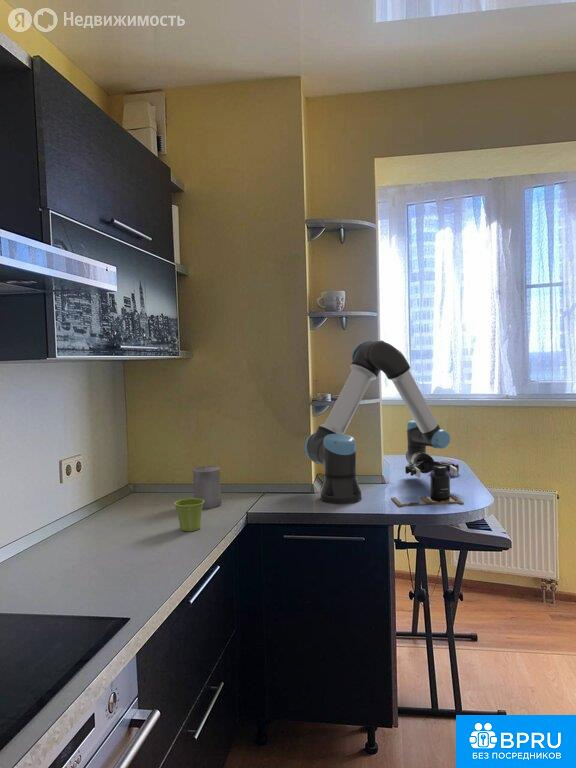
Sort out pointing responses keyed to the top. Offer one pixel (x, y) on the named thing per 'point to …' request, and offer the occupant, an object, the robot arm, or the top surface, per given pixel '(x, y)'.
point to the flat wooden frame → (429, 501)
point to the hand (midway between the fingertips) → (437, 473)
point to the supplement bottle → (440, 484)
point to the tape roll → (447, 471)
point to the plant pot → (189, 513)
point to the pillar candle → (207, 485)
